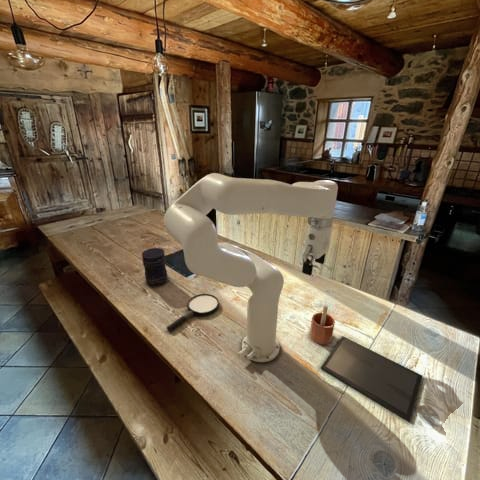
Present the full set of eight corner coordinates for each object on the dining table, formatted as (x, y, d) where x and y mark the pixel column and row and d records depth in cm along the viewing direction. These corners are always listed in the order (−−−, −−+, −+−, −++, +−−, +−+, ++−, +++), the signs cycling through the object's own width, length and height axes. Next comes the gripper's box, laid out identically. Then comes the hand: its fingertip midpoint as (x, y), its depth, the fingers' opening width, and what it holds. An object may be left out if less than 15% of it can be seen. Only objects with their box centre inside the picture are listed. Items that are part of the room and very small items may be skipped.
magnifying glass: (157, 324, 99) (157, 319, 98) (202, 293, 116) (202, 289, 115) (180, 339, 92) (180, 334, 91) (224, 304, 110) (224, 300, 109)
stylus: (321, 337, 93) (326, 307, 87) (318, 335, 94) (323, 305, 88) (323, 335, 94) (328, 305, 88) (319, 333, 94) (324, 303, 89)
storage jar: (157, 273, 132) (153, 246, 125) (172, 279, 127) (169, 251, 121) (141, 282, 124) (136, 254, 118) (156, 289, 119) (152, 260, 113)
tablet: (409, 421, 67) (410, 419, 67) (320, 368, 82) (321, 366, 81) (421, 377, 79) (422, 375, 79) (342, 337, 93) (342, 335, 93)
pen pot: (326, 348, 89) (329, 330, 86) (305, 337, 93) (308, 320, 90) (335, 335, 94) (338, 319, 91) (315, 325, 99) (318, 309, 96)
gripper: (319, 231, 75) (312, 282, 82) (341, 216, 87) (333, 262, 94) (296, 225, 79) (290, 274, 86) (320, 211, 92) (313, 255, 99)
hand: (313, 268), depth 90 cm, fingers open, 9 cm apart
